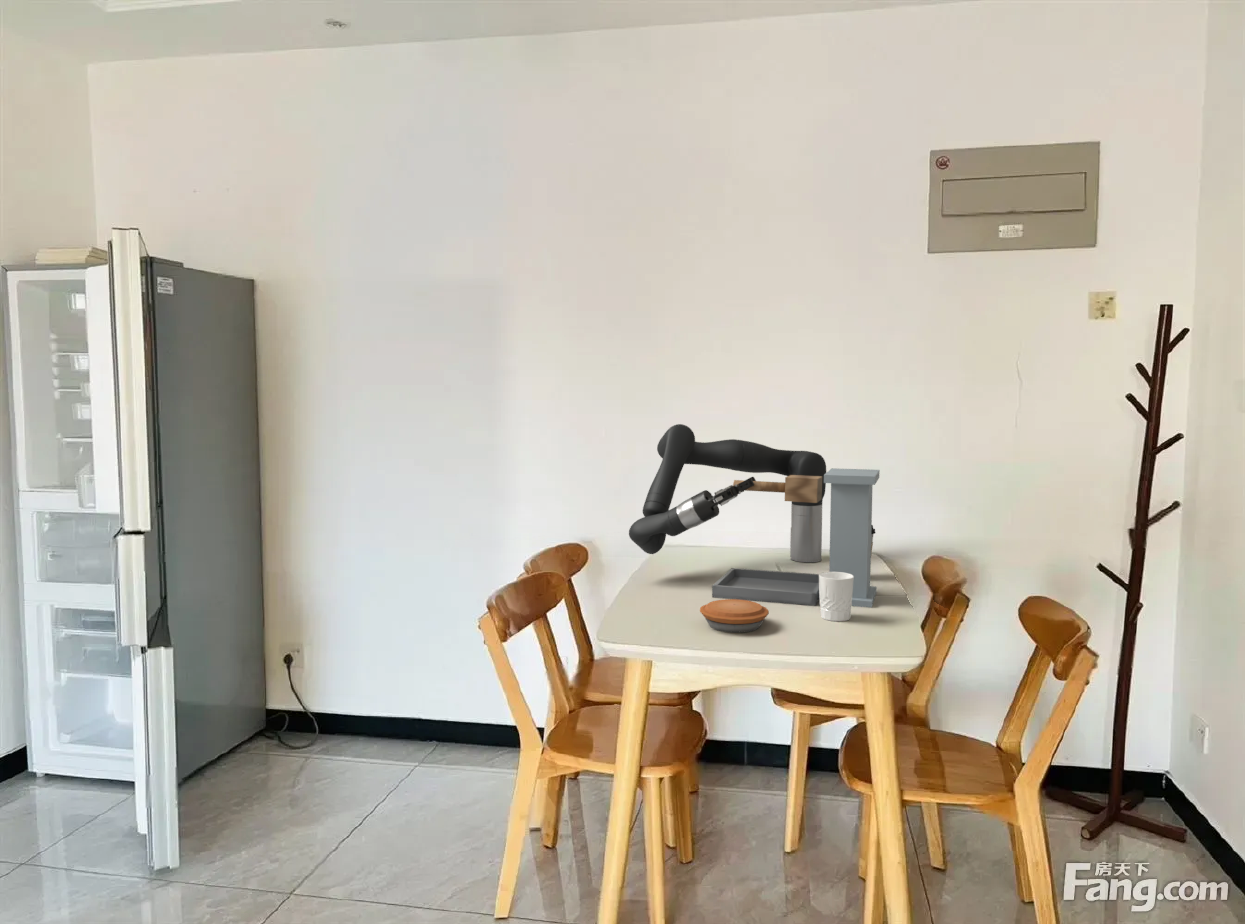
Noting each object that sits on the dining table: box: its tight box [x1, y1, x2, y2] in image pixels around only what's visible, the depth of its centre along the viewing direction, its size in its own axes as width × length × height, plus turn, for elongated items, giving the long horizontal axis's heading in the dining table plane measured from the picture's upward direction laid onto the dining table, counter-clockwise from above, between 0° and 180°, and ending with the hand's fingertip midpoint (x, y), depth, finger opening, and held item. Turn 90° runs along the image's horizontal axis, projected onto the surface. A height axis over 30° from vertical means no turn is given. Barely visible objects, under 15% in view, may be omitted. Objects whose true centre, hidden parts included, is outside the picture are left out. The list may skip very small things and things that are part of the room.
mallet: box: [732, 475, 822, 503], centre depth 224 cm, size 22×9×6 cm, turn 70°
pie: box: [699, 598, 770, 633], centre depth 196 cm, size 16×16×5 cm
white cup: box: [818, 571, 854, 622], centre depth 202 cm, size 8×8×10 cm
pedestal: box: [824, 467, 880, 608], centre depth 219 cm, size 12×16×32 cm
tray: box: [711, 567, 820, 607], centre depth 227 cm, size 26×22×3 cm
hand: (753, 480), depth 226 cm, fingers closed on mallet, 2 cm apart
